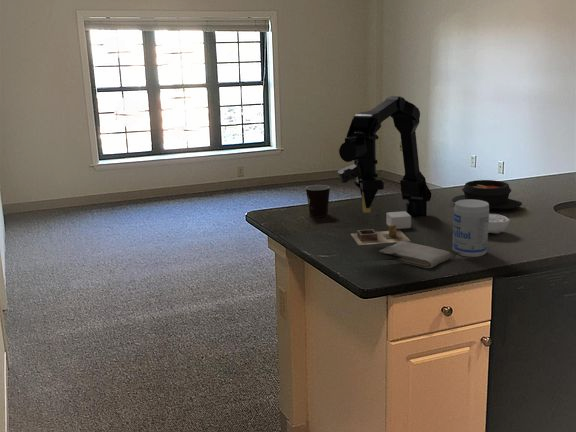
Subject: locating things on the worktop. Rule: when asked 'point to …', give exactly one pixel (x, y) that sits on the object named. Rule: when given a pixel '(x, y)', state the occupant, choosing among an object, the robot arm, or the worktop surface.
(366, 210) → the peg
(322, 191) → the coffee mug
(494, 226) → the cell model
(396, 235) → the board
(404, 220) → the grey rounded cube
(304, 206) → the worktop surface
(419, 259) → the washcloth
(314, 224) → the worktop surface
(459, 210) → the supplement tub
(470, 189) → the casserole
